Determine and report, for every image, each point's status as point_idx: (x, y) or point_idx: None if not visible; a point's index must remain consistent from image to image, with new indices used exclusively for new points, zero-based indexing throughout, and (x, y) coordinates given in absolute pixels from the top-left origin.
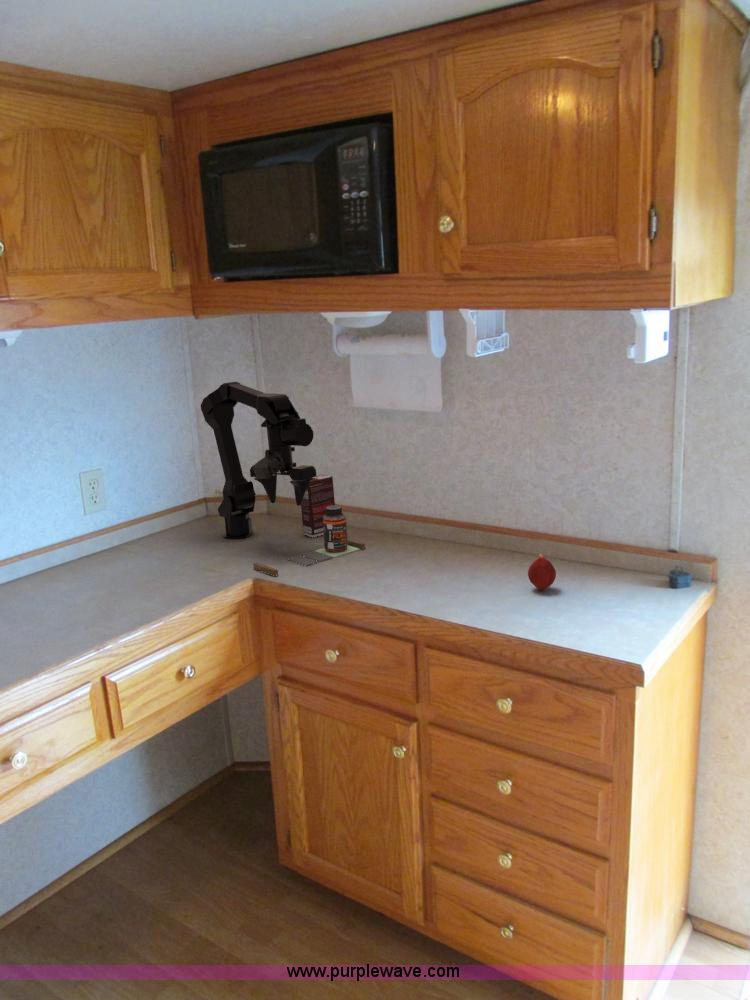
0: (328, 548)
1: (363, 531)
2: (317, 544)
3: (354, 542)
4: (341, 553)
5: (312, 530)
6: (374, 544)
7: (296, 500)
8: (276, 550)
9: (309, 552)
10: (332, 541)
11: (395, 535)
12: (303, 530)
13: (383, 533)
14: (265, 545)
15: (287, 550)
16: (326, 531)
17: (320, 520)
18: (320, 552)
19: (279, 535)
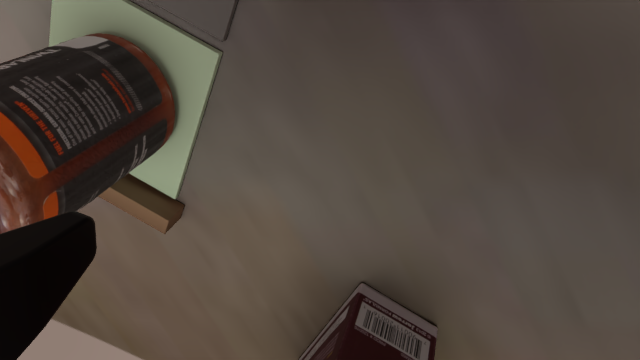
0: (108, 39)
1: (197, 355)
2: (283, 186)
3: None
4: (60, 32)
5: (351, 313)
6: None
7: (13, 245)
8: (490, 36)
9: (225, 12)
10: (46, 49)
11: (65, 305)
12: (431, 345)
13: (116, 328)
14: (632, 138)
15: (406, 51)
16: (29, 76)
17: None
18: (167, 27)
19: (594, 332)
